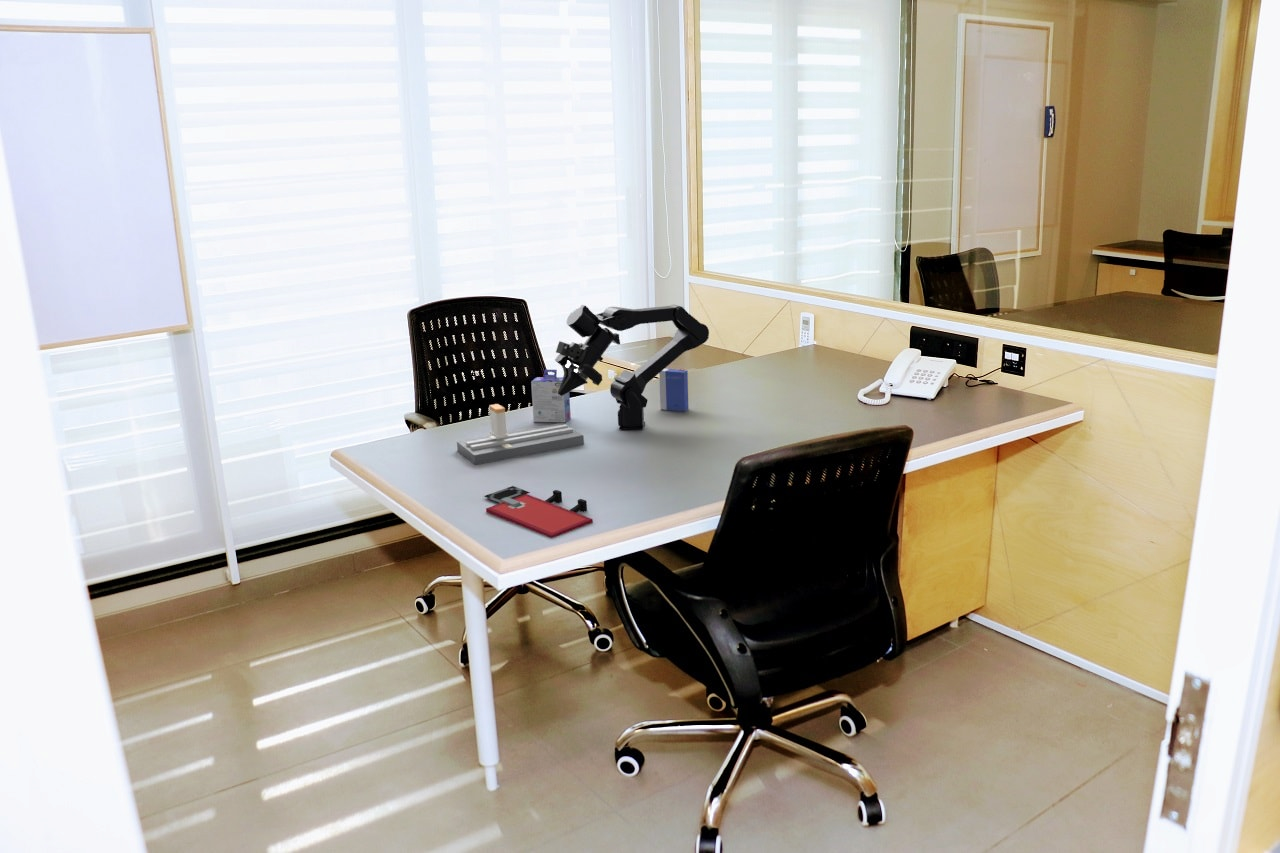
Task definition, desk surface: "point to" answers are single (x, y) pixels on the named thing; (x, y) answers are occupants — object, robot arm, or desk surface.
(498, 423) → the fader lever
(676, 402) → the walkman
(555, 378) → the ink cartridge box
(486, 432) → the desk surface
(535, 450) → the fader console
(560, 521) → the red board with handle
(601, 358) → the robot arm
